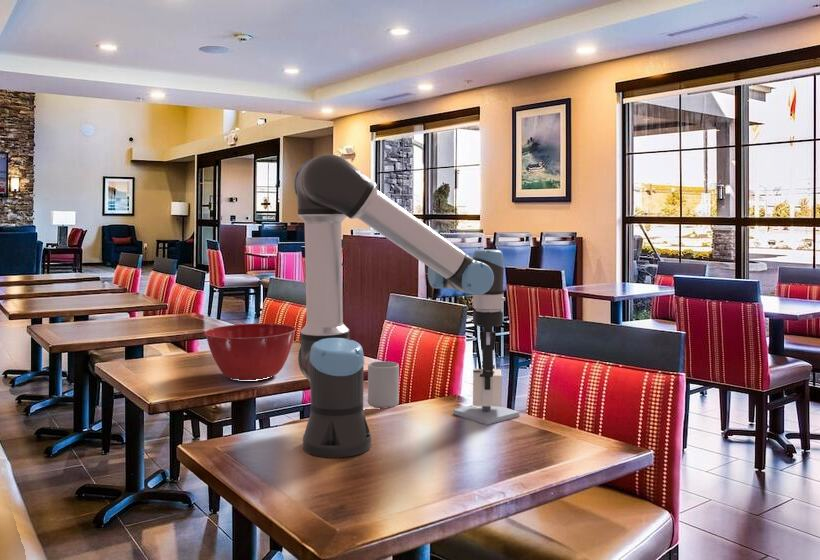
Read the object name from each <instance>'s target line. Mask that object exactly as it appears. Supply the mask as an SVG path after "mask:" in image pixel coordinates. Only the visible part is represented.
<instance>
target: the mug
mask: <svg viewBox="0 0 820 560" xmlns="http://www.w3.org/2000/svg"><path fill="white" fill-rule="evenodd" d="M399 366H400V365H399V363H397V362H395V361H386V360H385V361H381V360H379V361H372V362H370V363H368V366H367V387H368V388H367V404H368V406H370V407H374V408H381V409H383V408H384V409H385V408H386V409H387V408H394V407H396V406H399V402H400V392H399V391H400V381H399V380H400V367H399Z"/></svg>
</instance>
